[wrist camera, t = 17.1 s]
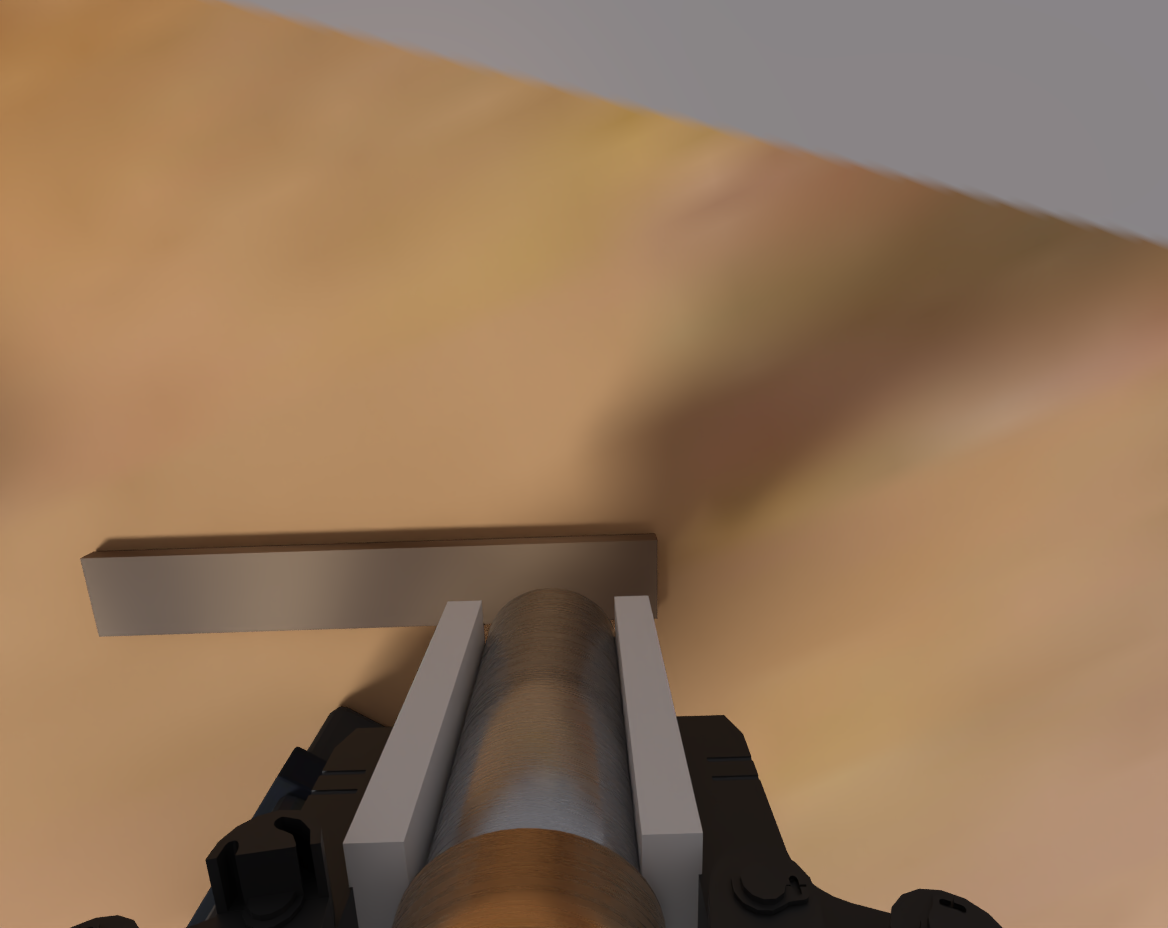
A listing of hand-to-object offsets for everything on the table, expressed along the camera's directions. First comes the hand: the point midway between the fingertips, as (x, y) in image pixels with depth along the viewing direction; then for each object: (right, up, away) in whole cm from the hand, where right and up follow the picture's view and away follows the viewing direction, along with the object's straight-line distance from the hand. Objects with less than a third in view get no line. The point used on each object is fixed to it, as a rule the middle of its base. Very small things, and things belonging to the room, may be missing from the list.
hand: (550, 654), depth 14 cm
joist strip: (-5, +1, +4) cm, 7 cm away
